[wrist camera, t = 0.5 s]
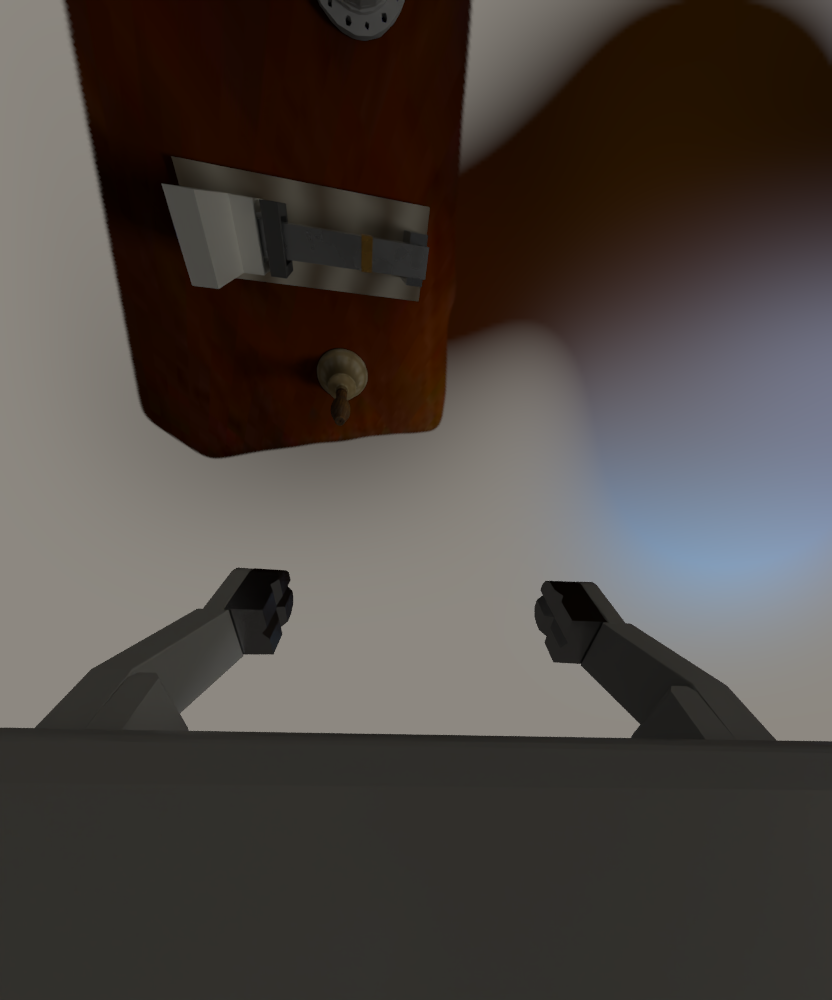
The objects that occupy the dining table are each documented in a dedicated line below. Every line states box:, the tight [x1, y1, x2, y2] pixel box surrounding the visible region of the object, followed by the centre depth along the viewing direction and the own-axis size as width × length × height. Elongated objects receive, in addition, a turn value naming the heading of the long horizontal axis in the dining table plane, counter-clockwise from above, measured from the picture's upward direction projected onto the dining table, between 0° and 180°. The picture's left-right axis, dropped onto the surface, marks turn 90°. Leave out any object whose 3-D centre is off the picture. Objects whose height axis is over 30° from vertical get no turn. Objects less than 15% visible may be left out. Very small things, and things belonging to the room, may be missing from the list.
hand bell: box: [317, 349, 368, 425], centre depth 45 cm, size 8×8×16 cm
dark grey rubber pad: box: [259, 199, 293, 279], centre depth 33 cm, size 2×6×6 cm, turn 173°
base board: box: [171, 156, 430, 301], centre depth 38 cm, size 28×10×1 cm, turn 82°
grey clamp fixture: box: [167, 204, 429, 287], centre depth 35 cm, size 26×5×7 cm, turn 82°
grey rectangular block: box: [161, 183, 270, 289], centre depth 29 cm, size 4×6×15 cm, turn 172°
